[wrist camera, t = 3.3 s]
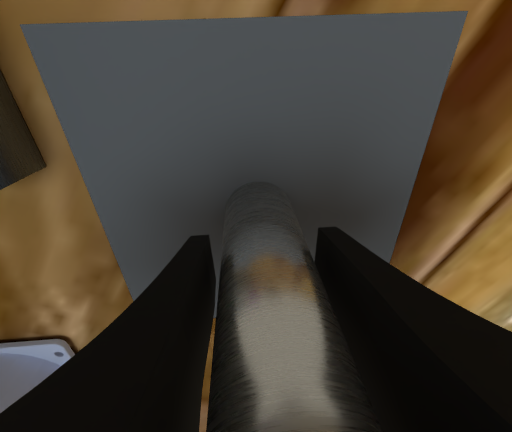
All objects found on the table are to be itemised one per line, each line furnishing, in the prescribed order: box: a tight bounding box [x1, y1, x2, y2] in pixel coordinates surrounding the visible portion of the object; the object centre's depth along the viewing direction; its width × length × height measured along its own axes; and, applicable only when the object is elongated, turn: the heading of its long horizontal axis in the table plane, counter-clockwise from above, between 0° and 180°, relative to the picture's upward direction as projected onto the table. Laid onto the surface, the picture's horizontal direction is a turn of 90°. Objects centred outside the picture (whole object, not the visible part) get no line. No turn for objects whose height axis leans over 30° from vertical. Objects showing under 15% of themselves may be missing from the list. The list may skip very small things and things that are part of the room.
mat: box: [20, 11, 468, 318], centre depth 11 cm, size 14×14×1 cm
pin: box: [206, 182, 383, 432], centre depth 7 cm, size 4×4×10 cm
